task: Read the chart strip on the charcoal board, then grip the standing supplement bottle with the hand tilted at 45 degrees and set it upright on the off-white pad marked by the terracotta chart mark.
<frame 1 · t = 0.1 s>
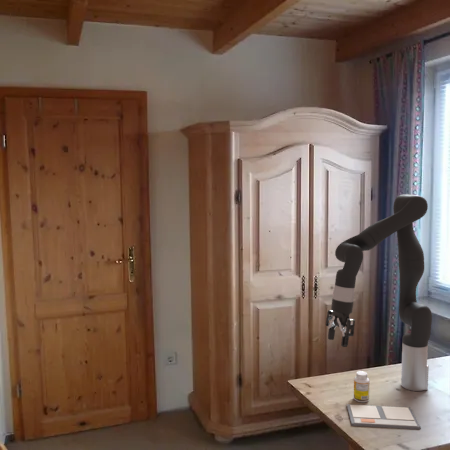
hand: (337, 342, 182), 22 cm above the table, tool pointing down, fingers open, 8 cm apart
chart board: (381, 417, 173), on the table
supplement bottle: (361, 400, 186), on the table
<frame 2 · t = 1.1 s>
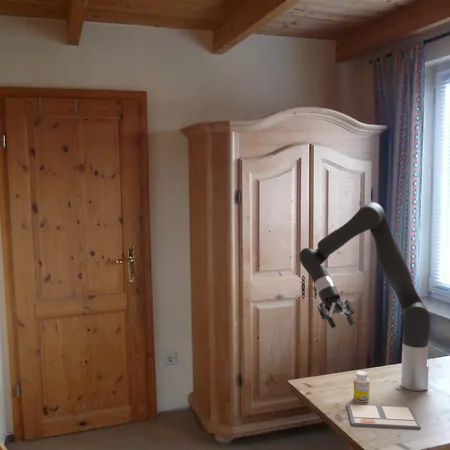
hand: (343, 326, 194), 25 cm above the table, tool tilted 45°, fingers open, 8 cm apart
nothing on the table moved.
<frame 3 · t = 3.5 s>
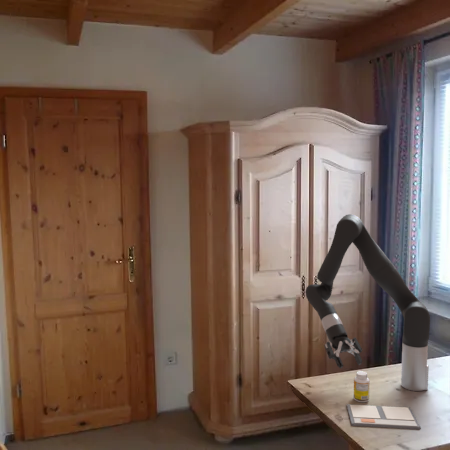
hand: (351, 365, 191), 11 cm above the table, tool tilted 45°, fingers open, 8 cm apart
nothing on the table moved.
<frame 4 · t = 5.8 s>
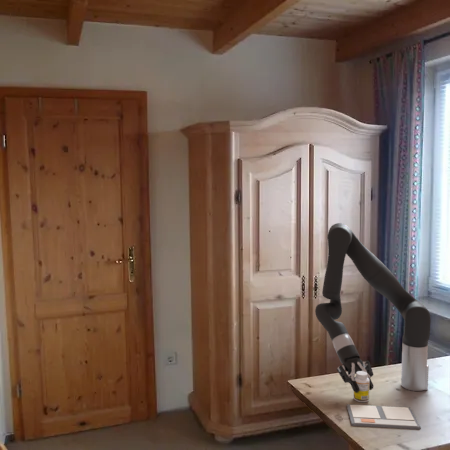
hand: (364, 390, 184), 4 cm above the table, tool tilted 45°, fingers closed on supplement bottle, 5 cm apart
supplement bottle: (361, 400, 186), on the table, touching gripper
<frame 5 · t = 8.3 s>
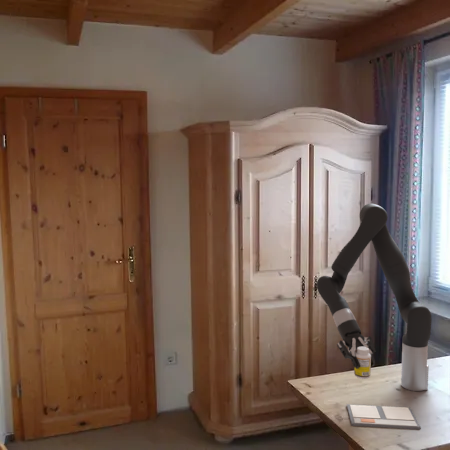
hand: (365, 366, 176), 16 cm above the table, tool tilted 45°, fingers closed on supplement bottle, 5 cm apart
supplement bottle: (362, 376, 178), point 12 cm above the table, touching gripper
when the fingers open (7 cm above the table, at t = 10.9 s): supplement bottle drops 1 cm, resting on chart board.
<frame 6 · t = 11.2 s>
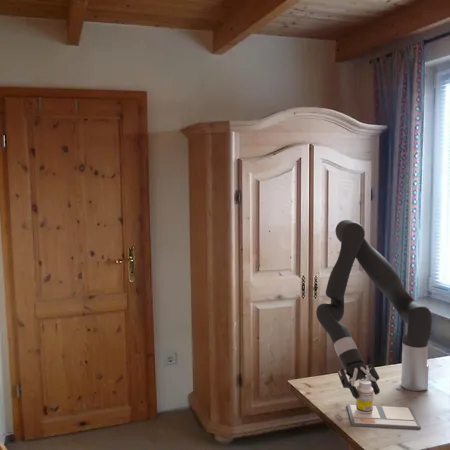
hand: (367, 395, 173), 7 cm above the table, tool tilted 45°, fingers open, 8 cm apart
supplement bottle: (364, 411, 175), point 1 cm above the table, touching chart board
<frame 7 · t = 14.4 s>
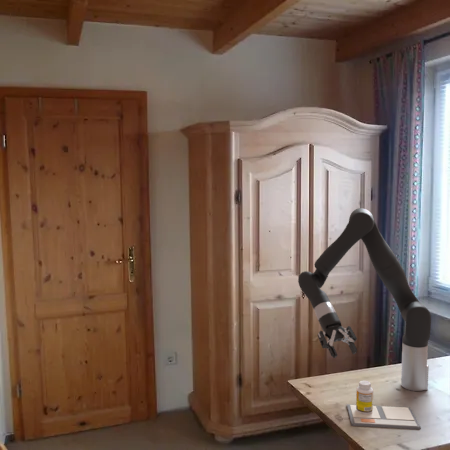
hand: (345, 355, 184), 17 cm above the table, tool tilted 45°, fingers open, 8 cm apart
nothing on the table moved.
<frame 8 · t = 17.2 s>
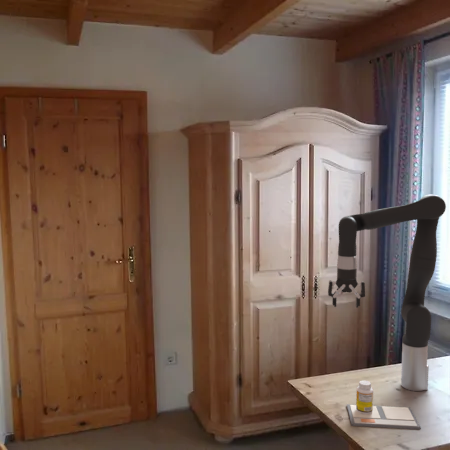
hand: (346, 306, 201), 30 cm above the table, tool pointing down, fingers open, 8 cm apart
nothing on the table moved.
at the end: supplement bottle 0.2 cm from the target spot on the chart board, point 0.9 cm above the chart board's base; supplement bottle tilted 0°; the gripper is holding nothing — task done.
